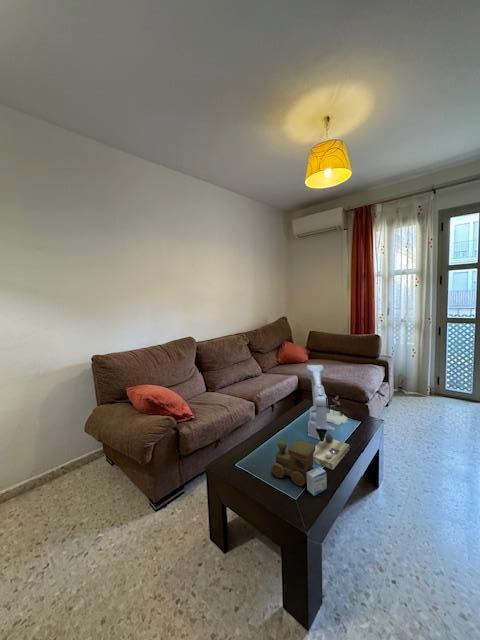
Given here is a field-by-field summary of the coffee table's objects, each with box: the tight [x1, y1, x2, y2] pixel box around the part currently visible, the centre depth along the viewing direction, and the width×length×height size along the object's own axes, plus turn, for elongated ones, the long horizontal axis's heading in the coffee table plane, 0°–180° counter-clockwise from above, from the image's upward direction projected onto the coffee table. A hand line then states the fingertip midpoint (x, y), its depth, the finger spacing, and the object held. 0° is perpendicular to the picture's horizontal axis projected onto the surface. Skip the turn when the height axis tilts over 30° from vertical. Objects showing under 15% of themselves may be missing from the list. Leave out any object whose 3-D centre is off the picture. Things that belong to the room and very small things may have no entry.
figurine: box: [326, 396, 349, 425], centre depth 180 cm, size 20×18×16 cm
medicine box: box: [306, 466, 328, 497], centre depth 114 cm, size 8×4×9 cm, turn 117°
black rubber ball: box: [325, 434, 334, 442], centre depth 147 cm, size 4×4×4 cm
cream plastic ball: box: [325, 451, 331, 458], centre depth 132 cm, size 3×3×3 cm
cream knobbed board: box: [313, 438, 350, 471], centre depth 140 cm, size 14×22×3 cm, turn 137°
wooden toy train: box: [270, 439, 316, 487], centre depth 124 cm, size 20×11×17 cm, turn 54°
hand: (322, 440), depth 143 cm, fingers closed
